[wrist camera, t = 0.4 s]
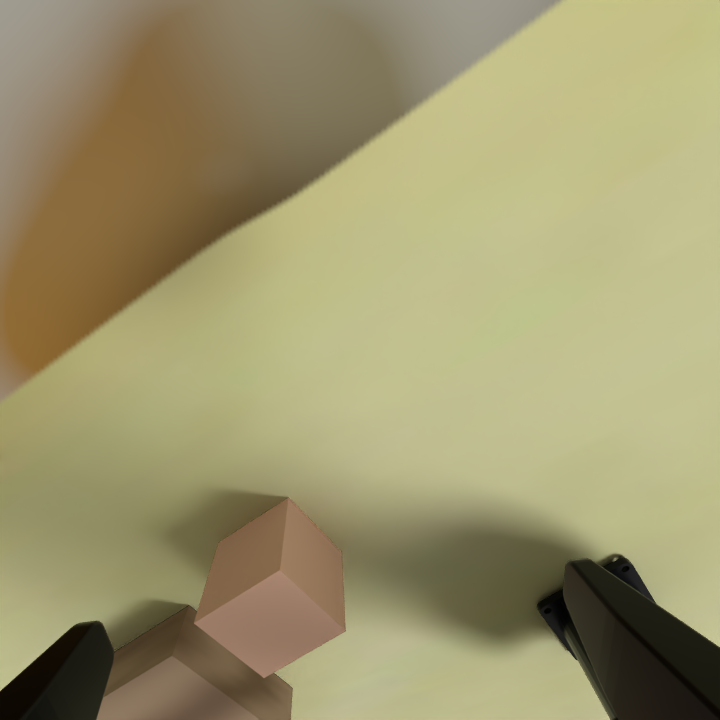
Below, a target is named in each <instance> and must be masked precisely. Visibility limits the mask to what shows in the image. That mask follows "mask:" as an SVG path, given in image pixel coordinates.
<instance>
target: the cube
mask: <svg viewBox="0 0 720 720" xmlns="http://www.w3.org/2000/svg"><path fill="white" fill-rule="evenodd" d="M194 624H195V625H197V626H198V627H199V628H200V629H202V630H203V631H204V632H206V633H207V634H208V635H209V636H211V637H212V638H213V639H215V640H216V641H217V642H218V643H220V644H221V645H222V646H224V647H225V648H226V649H227V650H229V651H230V652H231V653H232V654H234V655H235V656H236V657H238V658H239V659H240V660H241V661H243V662H244V663H245V664H247V665H248V666H249V667H250V668H252V669H253V670H254V671H256V672H257V673H258V674H259V675H261V676H262V677H263V678H265V677H267V676H269V675H270V674H272V673H274V672H276V671H277V670H279V669H281V668H283V667H284V666H286V665H288V664H290V663H291V662H293V661H295V660H296V659H298V658H300V657H302V656H303V655H305V654H307V653H309V652H310V651H312V650H314V649H316V648H317V647H319V646H321V645H322V644H324V643H326V642H328V641H329V640H331V639H333V638H335V637H336V636H338V635H340V634H342V633H343V632H345V631H346V626H345V607H344V587H343V567H342V552H341V551H340V550H339V549H338V548H337V547H336V546H335V545H334V544H333V543H332V542H331V541H330V539H329V538H328V537H327V536H326V535H325V534H324V533H323V532H322V531H321V530H320V529H319V528H318V527H317V526H316V525H315V524H314V523H313V522H312V521H311V520H310V519H309V518H308V517H307V516H306V515H305V514H304V513H303V512H302V511H301V510H300V509H299V508H298V506H297V505H296V504H295V503H294V502H293V501H292V500H291V499H290V498H289V497H288V498H287V499H285V500H284V501H282V502H281V503H279V504H278V505H276V506H274V507H273V508H271V509H270V510H268V511H267V512H265V513H264V514H262V515H260V516H259V517H257V518H256V519H254V520H253V521H251V522H250V523H248V524H246V525H245V526H243V527H242V528H240V529H239V530H237V531H236V532H234V533H233V534H231V535H229V536H228V537H226V538H225V539H223V540H222V541H220V542H219V543H218V546H217V549H216V553H215V556H214V559H213V562H212V566H211V569H210V572H209V575H208V579H207V582H206V585H205V588H204V592H203V595H202V598H201V601H200V605H199V608H198V611H197V614H196V618H195V621H194Z"/></svg>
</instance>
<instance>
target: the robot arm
mask: <svg viewBox="0 0 720 720" xmlns="http://www.w3.org/2000/svg"><path fill="white" fill-rule="evenodd" d="M537 608H538V610H539V612H540V614H541V616H542V617H543V618H544V619H545V621H546V622H547V623H548V625H549V626H550V627H551V628H552V630H553V631H554V632H555V634H556V635H557V636H558V637H559V639H560V640H561V641H562V643H563V644H564V645H565V646H566V648H567V649H568V650H569V652H570V653H571V654H572V656H573V657H574V658H575V659H576V660H578V661H579V663H580V665H581V667H582V669H583V671H584V672H585V674H586V676H587V678H588V680H589V681H590V683H591V685H592V687H593V689H594V691H595V692H596V694H597V696H598V698H599V700H600V701H601V703H602V705H603V707H604V709H605V711H606V712H607V714H608V716H609V718H610V720H720V647H719V646H717V645H716V644H714V643H713V642H711V641H710V640H708V639H707V638H706V637H704V636H703V635H701V634H700V633H698V632H697V631H695V630H694V629H692V628H691V627H689V626H688V625H686V624H685V623H683V622H682V621H681V620H679V619H678V618H676V617H675V616H673V615H672V614H670V613H669V612H667V611H666V610H664V609H663V608H661V607H660V606H659V605H657V604H656V603H655V601H654V599H653V598H652V596H651V594H650V593H649V591H648V589H647V588H646V586H645V584H644V583H643V581H642V579H641V578H640V576H639V574H638V573H637V571H636V569H635V568H634V566H633V565H632V563H631V562H630V561H629V560H628V559H627V558H620V559H618V560H616V561H614V562H612V563H611V564H609V565H607V566H605V567H601V566H600V565H598V564H597V563H595V562H594V561H592V560H590V559H588V558H581V559H573V560H569V561H567V563H566V566H565V575H564V586H563V590H561V591H559V592H557V593H555V594H553V595H552V596H550V597H548V598H546V599H544V600H542V601H541V602H539V603H538V605H537ZM113 661H114V650H113V647H112V644H111V642H110V640H109V637H108V635H107V633H106V630H105V628H104V626H103V624H102V623H101V622H100V621H90V622H82V623H78V624H76V625H74V626H73V627H72V628H70V629H69V630H68V631H67V632H66V633H65V634H64V635H62V636H61V637H60V638H59V639H58V640H57V641H56V642H55V643H54V644H52V645H51V646H50V647H49V648H48V649H47V650H46V651H45V652H43V653H42V654H41V655H40V656H39V657H38V658H37V659H36V660H35V661H33V662H32V663H31V664H30V665H29V666H28V667H27V668H26V669H24V670H23V671H22V672H21V673H20V674H19V675H18V676H17V677H16V678H14V679H13V680H12V681H11V682H10V683H9V684H8V685H7V686H5V687H4V688H3V689H2V690H1V691H0V720H97V717H98V713H99V710H100V706H101V703H102V700H103V696H104V693H105V690H106V686H107V683H108V679H109V676H110V673H111V669H112V666H113Z"/></svg>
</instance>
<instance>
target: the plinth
mask: <svg viewBox="0 0 720 720" xmlns="http://www.w3.org/2000/svg"><path fill="white" fill-rule="evenodd" d="M196 614H197V612H196V611H195V610H194V609H193V608H191V607H190V606H188V607H186V608H185V609H183V610H181V611H180V612H178V613H177V614H175V615H173V616H172V617H170V618H169V619H167V620H165V621H164V622H162V623H161V624H159V625H157V626H156V627H154V628H153V629H151V630H149V631H148V632H146V633H144V634H143V635H141V636H140V637H138V638H136V639H135V640H133V641H132V642H130V643H128V644H127V645H125V646H124V647H122V648H120V649H119V650H117V651H116V652H114V661H113V666H112V669H111V673H110V676H109V679H108V683H107V686H106V690H105V693H104V696H103V700H102V703H101V706H100V710H99V713H98V717H97V720H291V707H292V692H293V688H292V687H290V686H289V685H288V684H287V683H285V682H284V681H283V680H282V679H280V678H279V677H278V676H276V675H275V674H274V673H272V674H270V675H269V676H267V677H265V678H263V677H262V676H261V675H259V674H258V673H257V672H256V671H254V670H253V669H252V668H250V667H249V666H248V665H247V664H245V663H244V662H243V661H241V660H240V659H239V658H238V657H236V656H235V655H234V654H232V653H231V652H230V651H229V650H227V649H226V648H225V647H224V646H222V645H221V644H220V643H218V642H217V641H216V640H215V639H213V638H212V637H211V636H209V635H208V634H207V633H206V632H204V631H203V630H202V629H200V628H199V627H198V626H197V625H195V624H194V621H195V618H196Z"/></svg>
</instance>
